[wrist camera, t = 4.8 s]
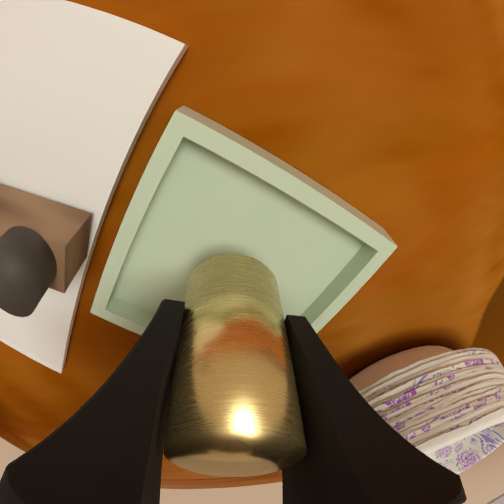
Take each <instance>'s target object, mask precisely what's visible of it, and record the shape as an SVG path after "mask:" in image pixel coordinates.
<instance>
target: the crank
mask: <svg viewBox="0 0 504 504" xmlns="http://www.w3.org/2000/svg"><path fill="white" fill-rule="evenodd" d="M91 217H92V213H90V212H87V211H83V210H80V209H77V208H74V207H71V206H68V205H65V204H62V203H59V202H55V201H52V200H49V199H46V198H43V197H40V196H37V195H34V194H31V193H28V192H25V191H22V190H18V189H15V188H12V187H9V186H6V185H3V184H0V308H1V309H2V310H4V311H5V312H7V313H9V314H11V315H13V316H17V317H27V316H30V315H31V314H32V313H33V312H34V310H35V309H36V307H37V305H38V304H39V302H40V301H41V299H42V297H43V296H44V294H45V293H46V291H47V289H48V288H51V289H53V290H56V291H59V292H61V293H64V294H65V292H66V290H67V288H68V287H69V285H70V283H71V282H72V280H73V278H74V277H75V275H76V274H77V272H78V270H79V269H80V267H81V266H82V264H83V262H84V261H85V259H86V258H87V252H88V242H89V233H90V225H91Z"/></svg>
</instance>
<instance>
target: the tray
mask: <svg viewBox="0 0 504 504" xmlns="http://www.w3.org/2000/svg"><path fill="white" fill-rule="evenodd" d="M397 247H398V246H397V245H396V244H395V243H394V241H393V240H392V239H391V237H390V236H389V235H388V234H387V232H386V231H385V230H384V229H383V228H382V227H381V226H380V225H378V224H377V223H375V222H374V221H373V220H371V219H370V218H368V217H367V216H366V215H364V214H363V213H361V212H360V211H359V210H357V209H356V208H354V207H353V206H351V205H350V204H349V203H347V202H346V201H344V200H343V199H341V198H340V197H338V196H337V195H335V194H334V193H332V192H331V191H329V190H328V189H326V188H325V187H323V186H322V185H320V184H319V183H317V182H316V181H314V180H313V179H311V178H309V177H308V176H306V175H305V174H303V173H302V172H300V171H298V170H297V169H295V168H294V167H292V166H290V165H289V164H287V163H286V162H284V161H282V160H281V159H279V158H277V157H276V156H274V155H272V154H271V153H269V152H267V151H266V150H264V149H262V148H261V147H259V146H257V145H256V144H254V143H252V142H250V141H249V140H247V139H245V138H243V137H242V136H240V135H238V134H236V133H235V132H233V131H231V130H229V129H227V128H226V127H224V126H222V125H220V124H218V123H216V122H215V121H213V120H211V119H209V118H207V117H205V116H203V115H201V114H199V113H198V112H196V111H194V110H192V109H190V108H188V107H186V106H184V105H183V106H182V107H180V108H178V109H177V110H176V111H175V112H174V114H173V116H172V118H171V120H170V122H169V123H168V125H167V127H166V129H165V131H164V133H163V135H162V137H161V139H160V141H159V143H158V144H157V146H156V148H155V150H154V152H153V154H152V157H151V159H150V161H149V163H148V165H147V167H146V169H145V171H144V173H143V175H142V178H141V180H140V182H139V184H138V186H137V188H136V191H135V193H134V195H133V198H132V200H131V202H130V204H129V207H128V209H127V211H126V214H125V216H124V219H123V221H122V224H121V226H120V229H119V231H118V234H117V236H116V239H115V241H114V244H113V247H112V249H111V252H110V255H109V257H108V260H107V263H106V266H105V268H104V271H103V274H102V277H101V280H100V283H99V286H98V289H97V292H96V295H95V298H94V301H93V304H92V308H91V311H90V313H92V314H94V315H97V316H99V317H101V318H103V319H105V320H107V321H109V322H112V323H114V324H116V325H118V326H120V327H123V328H125V329H127V330H130V331H132V332H134V333H137V334H139V335H142V334H143V332H144V331H145V329H146V328H147V326H148V325H149V323H150V321H151V320H152V318H153V316H154V315H155V313H156V311H157V309H158V307H159V305H160V303H161V301H162V300H164V299H170V300H176V301H183V302H184V299H185V293H186V288H187V283H188V280H189V277H190V275H191V273H192V272H193V271H194V270H195V268H196V267H198V266H199V265H200V264H201V263H203V262H204V261H206V260H208V259H210V258H213V257H216V256H220V255H226V254H239V255H245V256H249V257H252V258H254V259H256V260H259V261H260V262H262V263H263V264H265V265H266V266H267V267H268V268H269V269H270V270H271V271H272V273H273V274H274V276H275V278H276V280H277V284H278V289H279V294H280V299H281V305H282V310H283V316H284V321H285V318H286V315H296V316H305V317H306V318H307V320H308V321H309V323H310V324H311V326H312V327H313V329H314V330H315V332H316V333H318V332H319V331H320V330H321V329H322V328H323V327H324V326H325V325H326V324H327V323H328V322H329V321H330V320H331V319H332V318H333V317H334V316H335V315H336V314H337V313H338V311H339V310H340V309H341V308H342V307H343V306H344V305H345V304H346V303H347V302H348V301H349V300H350V299H351V298H352V297H353V296H354V295H355V294H356V293H357V292H358V290H359V289H360V288H361V287H362V286H363V285H364V284H365V283H366V282H367V281H368V280H369V279H370V277H371V276H372V275H373V274H374V273H375V272H376V271H377V270H378V268H379V267H380V266H381V265H382V264H383V263H384V262H385V261H386V259H387V258H388V257H389V256H390V255H391V254H392V252H393V251H394V250H395V249H396V248H397Z"/></svg>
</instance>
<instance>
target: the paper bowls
mask: <svg viewBox="0 0 504 504" xmlns="http://www.w3.org/2000/svg"><path fill="white" fill-rule="evenodd" d="M349 381H350V382H351V383H352V384H353V386H354V387H355V388H356V389H357V391H358V392H359V393H360V394H361V396H362V397H363V398H364V399H365V400H366V401H367V402H368V404H369V405H370V406H371V407H372V408H373V409H374V410H375V411H376V412H377V413H378V414H379V415H380V416H381V417H382V418H383V419H384V420H385V421H386V422H387V423H388V424H389V425H390V426H391V427H392V428H393V429H394V430H396V431H397V432H398V433H399V434H400V435H401V436H402V437H404V438H405V439H406V440H407V441H408V442H410V443H411V444H412V445H413V446H415V447H416V448H417V449H419V450H420V451H421V452H423V453H424V454H425V455H427V456H428V457H430V458H431V459H433V460H434V461H436V462H437V463H439V464H441V465H442V466H444V467H446V468H447V469H449V470H451V471H452V472H454V473H456V474H459V473H461V472H462V471H464V470H466V469H467V468H469V467H471V466H472V465H474V464H475V463H477V462H478V461H480V460H481V459H483V458H484V457H486V456H487V455H488V454H490V453H491V452H492V451H493V450H495V449H496V448H497V447H498V446H500V445H501V444H502V443H503V442H504V368H503V366H502V365H501V363H500V361H499V359H498V358H497V356H496V355H494V354H493V353H492V352H491V351H489V350H487V349H482V348H466V349H460V350H455V351H454V350H452V349H449V348H446V347H443V346H421V347H416V348H412V349H408V350H404V351H401V352H398V353H396V354H393V355H391V356H388V357H386V358H384V359H381V360H379V361H377V362H375V363H374V364H372V365H370V366H368V367H367V368H365V369H363V370H362V371H360V372H359V373H357V374H356V375H355V376H353V377H352V378H351V379H349Z"/></svg>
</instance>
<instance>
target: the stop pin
mask: <svg viewBox="0 0 504 504" xmlns="http://www.w3.org/2000/svg"><path fill="white" fill-rule="evenodd" d="M184 302H185V308H184V315H183V321H182V327H181V334H180V338H179V342H178V347H177V351H176V356H175V362H174V369H173V376H172V383H171V391H170V398H169V406H168V415H167V423H166V432H165V442H164V451H163V452H164V455H165V457H166V458H167V459H168V460H169V461H170V462H172V463H173V464H175V465H177V466H179V467H181V468H183V469H186V470H189V471H192V472H196V473H200V474H205V475H212V476H222V477H246V476H257V475H263V474H268V473H273V472H276V471H280V470H283V469H286V468H288V467H290V466H292V465H294V464H296V463H298V462H299V461H300V460H302V459H303V458H304V457H305V455H306V453H307V447H306V441H305V435H304V429H303V423H302V417H301V411H300V405H299V399H298V394H297V388H296V382H295V376H294V371H293V365H292V359H291V354H290V348H289V343H288V337H287V332H286V326H285V321H284V316H283V310H282V305H281V299H280V294H279V289H278V284H277V280H276V278H275V276H274V274H273V273H272V271H271V270H270V269H269V268H268V267H267V266H266V265H265V264H263V263H262V262H260V261H259V260H256V259H254V258H252V257H249V256H245V255H239V254H226V255H220V256H216V257H213V258H210V259H208V260H206V261H204V262H203V263H201V264H200V265H199V266H198V267H196V268H195V270H194V271H193V272H192V273H191V275H190V277H189V280H188V283H187V288H186V293H185V299H184Z"/></svg>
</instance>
